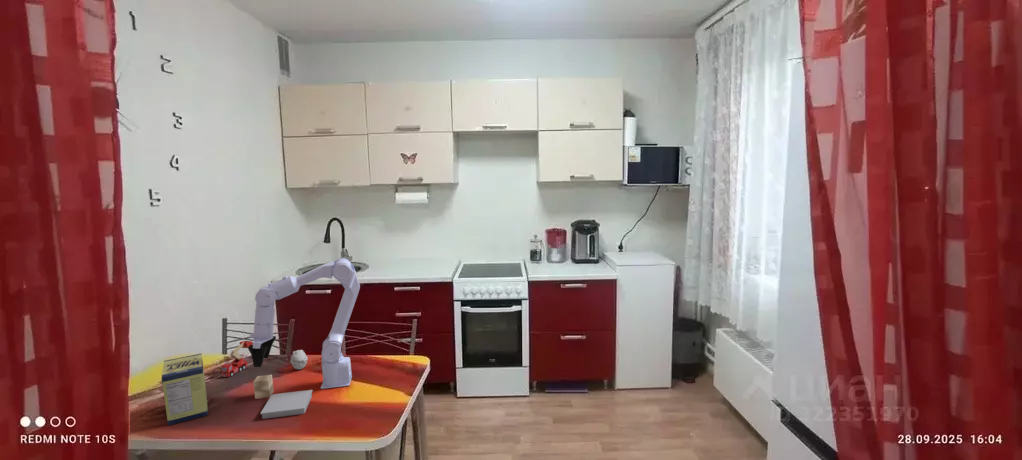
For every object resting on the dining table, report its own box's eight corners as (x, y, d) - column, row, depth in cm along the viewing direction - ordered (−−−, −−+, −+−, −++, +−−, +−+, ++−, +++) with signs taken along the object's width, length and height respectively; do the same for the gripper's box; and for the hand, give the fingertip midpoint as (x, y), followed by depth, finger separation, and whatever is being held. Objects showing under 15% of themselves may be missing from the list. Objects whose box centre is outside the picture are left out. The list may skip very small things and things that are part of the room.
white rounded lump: (306, 363, 186) (305, 346, 185) (310, 369, 180) (308, 351, 180) (289, 367, 183) (287, 350, 182) (292, 373, 177) (291, 355, 176)
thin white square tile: (313, 396, 160) (312, 389, 159) (305, 415, 147) (304, 407, 147) (272, 401, 157) (271, 394, 157) (261, 421, 145) (260, 413, 145)
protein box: (207, 396, 161) (201, 352, 159) (208, 415, 148) (203, 367, 146) (169, 405, 155) (163, 360, 153) (167, 426, 143) (161, 377, 140)
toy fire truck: (220, 377, 176) (217, 352, 174) (247, 362, 189) (245, 339, 188) (228, 378, 175) (225, 353, 174) (255, 363, 188) (252, 339, 187)
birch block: (273, 391, 164) (271, 374, 163) (269, 397, 159) (268, 380, 158) (259, 392, 163) (257, 376, 162) (255, 399, 158) (253, 381, 157)
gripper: (257, 315, 165) (254, 353, 166) (243, 328, 151) (240, 370, 152) (279, 317, 166) (276, 354, 167) (267, 329, 152) (264, 370, 153)
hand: (261, 362), depth 160 cm, fingers open, 7 cm apart
